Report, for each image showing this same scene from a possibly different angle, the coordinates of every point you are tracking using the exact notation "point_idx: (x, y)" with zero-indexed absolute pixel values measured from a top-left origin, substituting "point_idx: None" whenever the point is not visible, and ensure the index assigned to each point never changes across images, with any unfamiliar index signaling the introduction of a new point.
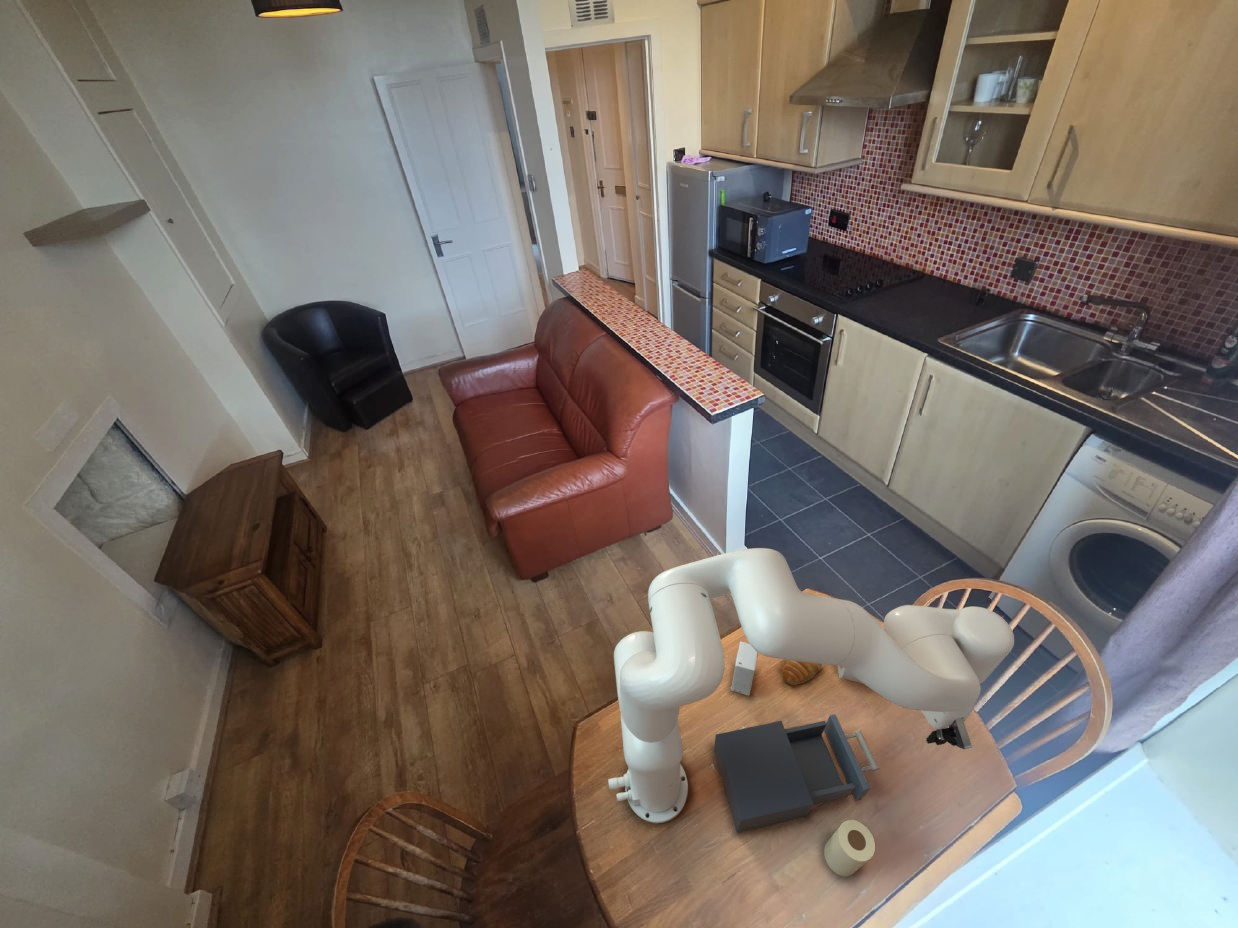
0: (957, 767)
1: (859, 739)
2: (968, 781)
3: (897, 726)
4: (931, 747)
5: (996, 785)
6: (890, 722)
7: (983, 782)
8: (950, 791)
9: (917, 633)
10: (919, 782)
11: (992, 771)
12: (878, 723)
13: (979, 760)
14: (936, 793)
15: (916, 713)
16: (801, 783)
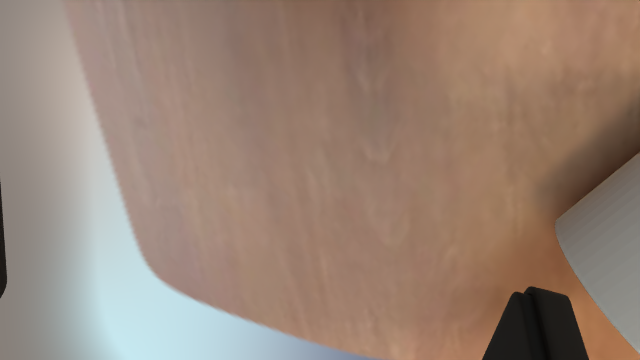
0: (232, 206)
1: None
2: (188, 202)
3: (428, 135)
4: (315, 184)
5: (156, 259)
6: (454, 122)
7: (173, 236)
8: (179, 129)
9: None
10: (234, 54)
11: (191, 281)
12: (476, 75)
13: (228, 276)
14: (187, 81)
15: (431, 230)
16: None
